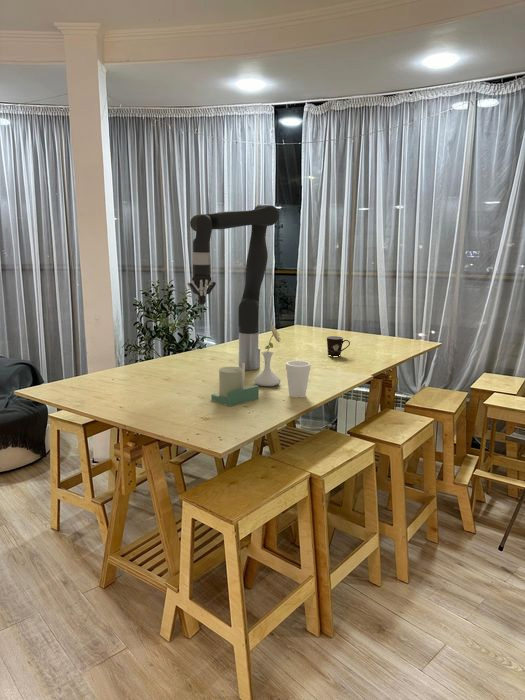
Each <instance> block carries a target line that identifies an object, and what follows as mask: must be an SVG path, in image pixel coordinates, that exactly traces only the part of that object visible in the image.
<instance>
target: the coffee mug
mask: <svg viewBox="0 0 525 700" xmlns="http://www.w3.org/2000/svg"><path fill="white" fill-rule="evenodd" d="M345 342H348V345H347V346H346V347H344V348H343V344H344V343H345ZM350 344H351V341H349V339H344V336H339V335H338V336H337V335H331V336H326V345H327V346H326V347H327V356H328V355H331V356H339V355H340V356H341V354H342V352H343V351H345V350H346V349H347V348H348V347H349V346H350Z"/></svg>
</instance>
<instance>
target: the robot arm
mask: <svg viewBox="0 0 525 700" xmlns="http://www.w3.org/2000/svg"><path fill="white" fill-rule="evenodd" d="M279 218H280V212H279V210H278V208H277V207H276V206H275V205H273V204H268V203H266V204H265V203H259V204H257V205H256V206H255V207H254V208H253V209H252V210H251V209H250V210H249V209H248V210H227V211H220V212H215V213H204V214H203V213H202V214H195V215H193V216H192V218H190V220H189V221H190V222H189V226H190V228H191V230H193V231H194V232H195V237H194V239H193V241H192V277H191V281H190V282H187V284H186V285H187V286H188V288H189V289H190V291H192V293H193V294H194V295H197V297H198V300H197V301H198V304H199V305H202V306H203V305H205V304H206V301H207V300H206V298H207V295H210V294H211V292H212V291H213V289H214V288H215V287H216V285H217V283H216V282H215V281H213V280H212V277H211V273H212V272H211V270H212V269H211V267H212V266H211V250H210V249H211V248H210V247H211V245H210V242H211V238H212V237H211V236H212V231H214V230H225V229H227V230H228V229H233V228H234V229H235V228H239V227H245V226H251V231H250V233H251V234H250V240H249V245H248V246H249V247H248V250H247V251H248V252H247V257H246V264H245V271H244V273H245V274H244V276H245V277H244V278H245V279H244V289H243V293H242V296H241V297H242V298H241V301H240V302H239V305H238V313H237V314H238V367H239V368H242V363H245V371H253V370H257V369H260V368H261V348H260V347H259V339H260V338H259V333H260V332H259V331H260V330H259V329H260V327H259V326H260V325H259V321H260V318H259V317H260V313H259V312H260V311H259V310H260V294H261V287H262V283H263V281H264V279H265V278H264V277H265V273H266V269H267V264H268V253H269V252H268V247H267V243H266V235H267V229H268V227H270V226H273V225H275V224H277V222H278V221H279ZM195 286H196V287H195Z"/></svg>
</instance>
